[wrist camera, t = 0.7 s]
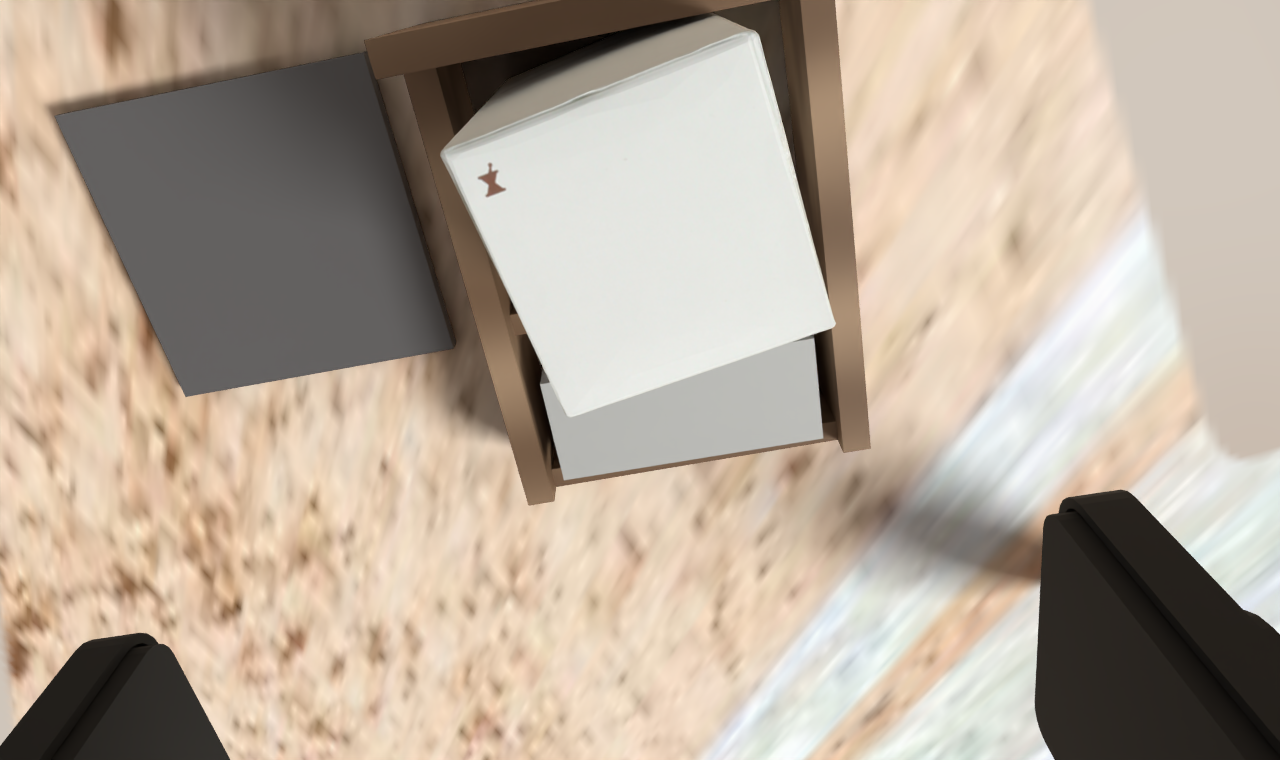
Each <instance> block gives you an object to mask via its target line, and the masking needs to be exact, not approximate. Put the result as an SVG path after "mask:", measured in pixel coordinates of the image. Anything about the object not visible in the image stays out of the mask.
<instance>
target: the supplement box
mask: <svg viewBox="0 0 1280 760" xmlns="http://www.w3.org/2000/svg"><path fill="white" fill-rule="evenodd" d="M440 156H441V158H442V160H443V162H444V164H445V166H446V168H447V170H448V172H449V174H450V176H451V178H452V180H453V182H454V184H455V186H456V188H457V190H458V192H459V195H460V197H461V199H462V201H463V203H464V205H465V207H466V209H467V211H468V213H469V215H470V217H471V219H472V221H473V223H474V225H475V227H476V229H477V231H478V233H479V236H480V238H481V240H482V242H483V244H484V246H485V248H486V250H487V252H488V254H489V256H490V258H491V260H492V262H493V264H494V266H495V268H496V270H497V272H498V274H499V276H500V278H501V280H502V282H503V285H504V287H505V289H506V291H507V293H508V295H509V297H510V299H511V301H512V303H513V305H514V307H515V309H516V311H517V313H518V315H519V317H520V320H521V322H522V324H523V326H524V328H525V330H526V332H527V335H528V337H529V339H530V341H531V343H532V345H533V347H534V349H535V351H536V354H537V356H538V358H539V360H540V362H541V364H542V367H543V369H544V371H545V373H546V375H547V377H548V379H549V382H550V384H551V386H552V388H553V390H554V392H555V394H556V396H557V399H558V401H559V403H560V405H561V407H562V409H563V411H564V413H565V414H566V416H568V417H574V416H577V415H580V414H583V413H586V412H589V411H592V410H594V409H597V408H600V407H603V406H606V405H609V404H612V403H615V402H618V401H621V400H624V399H627V398H630V397H633V396H636V395H639V394H642V393H645V392H647V391H650V390H653V389H656V388H659V387H662V386H665V385H668V384H671V383H674V382H677V381H680V380H682V379H685V378H688V377H691V376H694V375H697V374H700V373H703V372H706V371H709V370H712V369H714V368H717V367H720V366H723V365H726V364H729V363H732V362H735V361H738V360H741V359H743V358H746V357H749V356H752V355H755V354H758V353H761V352H764V351H767V350H770V349H772V348H775V347H778V346H781V345H784V344H787V343H790V342H793V341H796V340H799V339H802V338H804V337H807V336H810V335H813V334H816V333H819V332H822V331H825V330H828V329H831V328H833V327H835V324H836V322H835V320H834V317H833V314H832V310H831V306H830V303H829V299H828V295H827V291H826V287H825V284H824V280H823V276H822V272H821V269H820V265H819V261H818V258H817V254H816V250H815V247H814V243H813V239H812V235H811V232H810V228H809V224H808V220H807V216H806V212H805V209H804V205H803V201H802V197H801V193H800V189H799V185H798V181H797V178H796V174H795V170H794V166H793V162H792V158H791V154H790V150H789V147H788V143H787V139H786V135H785V131H784V127H783V124H782V120H781V116H780V112H779V109H778V105H777V101H776V97H775V94H774V90H773V86H772V82H771V79H770V75H769V71H768V67H767V64H766V60H765V56H764V52H763V48H762V44H761V41H760V37H759V35H758V34H757V32H756V31H754V30H751V29H748V28H746V27H743V26H741V25H739V24H736V23H734V22H732V21H730V20H727V19H726V18H723V17H721V16H719V15H717V14H715V13H712V12H709V13H704V14H699V15H694V16H689V17H685V18H680V19H675V20H670V21H665V22H660V23H655V24H650V25H645V26H640V27H635V28H631V29H628V30H625V31H623V32H620V33H618V34H615V35H612V36H610V37H607V38H605V39H602V40H600V41H597V42H595V43H592V44H590V45H588V46H585V47H583V48H580V49H578V50H576V51H573V52H571V53H568V54H566V55H564V56H561V57H559V58H557V59H554V60H552V61H550V62H547V63H545V64H542V65H540V66H538V67H535V68H533V69H531V70H528V71H526V72H524V73H521V74H519V75H517V76H514V77H512V78H509V79H507V80H506V82H505V83H504V84H503V85H502V86H501V87H500V88H499V89H498V90H497V92H496V93H495V94H494V95H493V96H492V97H491V98H490V99H489V100H488V101H487V102H486V103H485V104H484V105H483V107H482V108H481V109H480V110H479V111H478V112H477V113H476V114H475V115H474V116H473V117H472V118H471V119H470V120H469V122H468V123H467V124H466V125H465V126H464V127H463V128H462V129H461V130H460V131H459V132H458V133H457V134H456V135H455V136H454V137H453V138H452V140H451V141H450V142H449V143H448V144H447V145H446V146H445V147H444V149H443V150H442V151H441V154H440Z"/></svg>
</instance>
